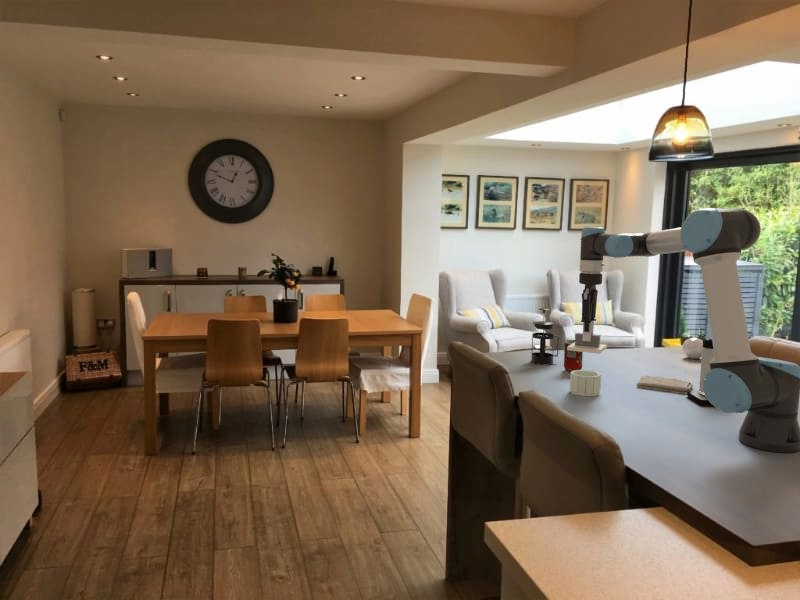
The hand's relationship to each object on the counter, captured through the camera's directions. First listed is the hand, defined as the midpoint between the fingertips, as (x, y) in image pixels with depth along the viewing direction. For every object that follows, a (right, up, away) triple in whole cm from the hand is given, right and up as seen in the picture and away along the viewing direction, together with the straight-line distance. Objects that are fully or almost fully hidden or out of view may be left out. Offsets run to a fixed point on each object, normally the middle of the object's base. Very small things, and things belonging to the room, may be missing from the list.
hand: (587, 340), depth 222 cm
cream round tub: (0, -19, +2) cm, 19 cm away
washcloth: (+31, -18, +11) cm, 38 cm away
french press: (-4, -13, +50) cm, 52 cm away
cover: (0, -3, 0) cm, 3 cm away
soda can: (+4, -15, +34) cm, 37 cm away
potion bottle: (+67, -12, +59) cm, 90 cm away
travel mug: (+43, -19, +1) cm, 47 cm away
